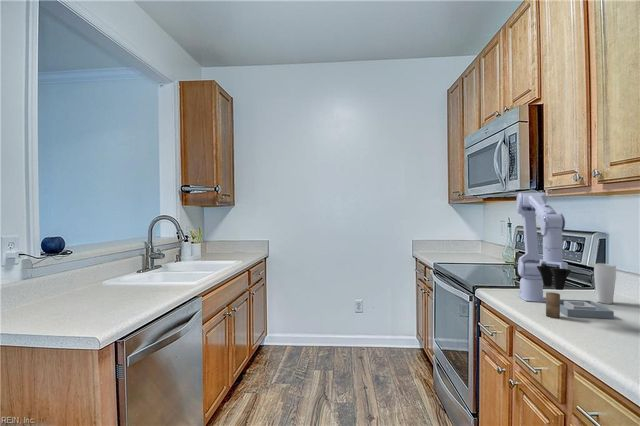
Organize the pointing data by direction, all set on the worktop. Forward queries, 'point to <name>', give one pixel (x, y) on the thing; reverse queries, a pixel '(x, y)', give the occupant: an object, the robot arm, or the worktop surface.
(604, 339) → the worktop surface
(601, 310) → the candle dish
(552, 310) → the walnut peg
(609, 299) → the drinking glass
